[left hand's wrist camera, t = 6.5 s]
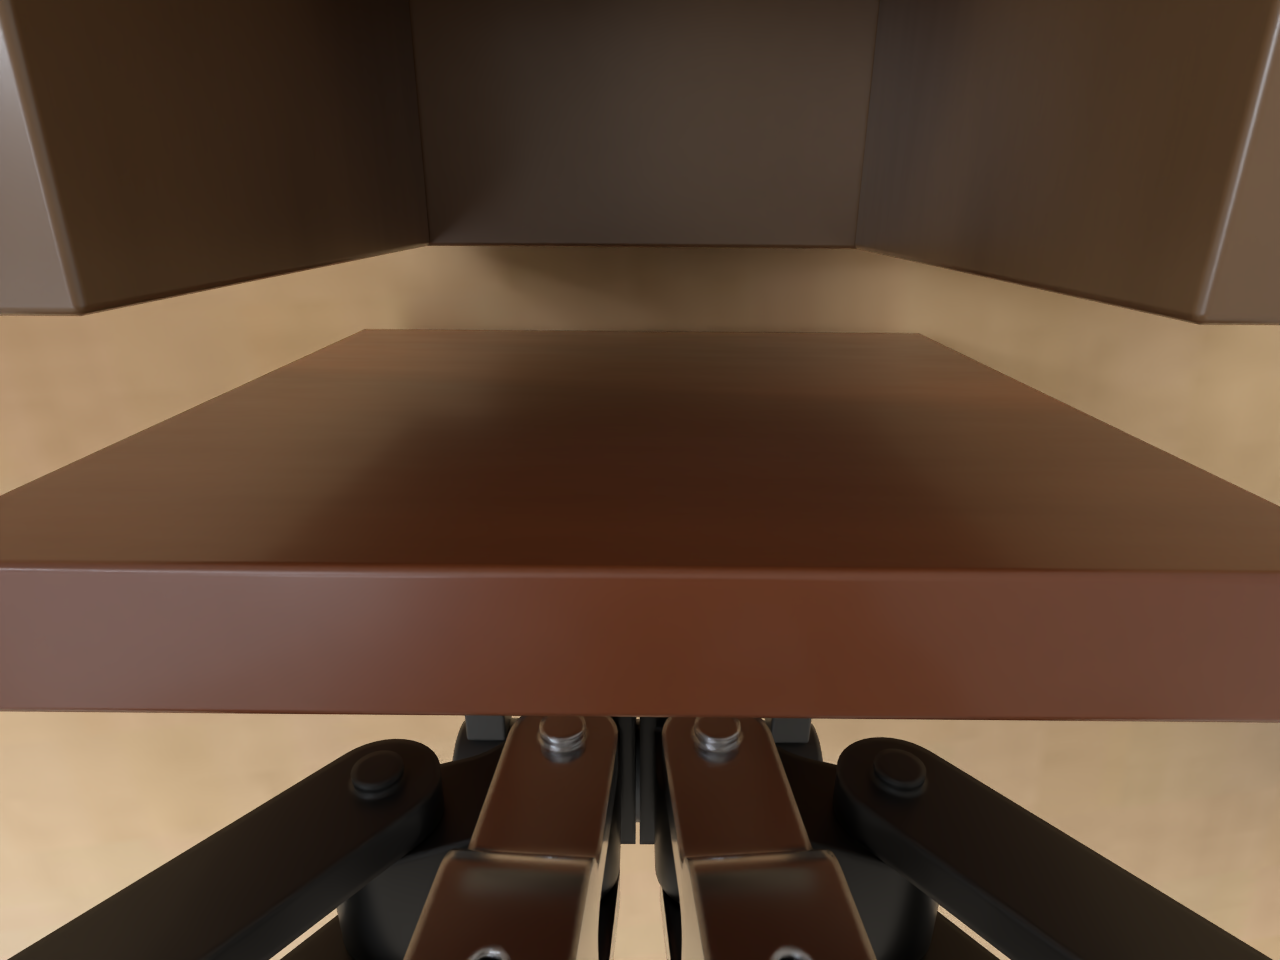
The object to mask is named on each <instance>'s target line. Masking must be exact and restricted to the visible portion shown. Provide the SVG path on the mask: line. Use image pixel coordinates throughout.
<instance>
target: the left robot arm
mask: <svg viewBox="0 0 1280 960" xmlns="http://www.w3.org/2000/svg"><path fill="white" fill-rule="evenodd" d="M635 839H636V717H600V716H521V717H520V718H519V719H518V720H517V721H516V722H515V723H514V724H513V726H512V727H511V729H510V731H509V733H508V736H507V739H506V740H505V741H504V742H502V743H501V744H499V745H498V746H496V747H494V748H492V749H490V750H488V751H486V752H484V753H481V754H479V755H475V756H472V757H468V758H464V759H460V760H456V761H452V762H447V763H443V764H440V763H439V760H438V757H437V756H436V754H435V753H434V752H433V751H432V750H431V749H430V748H429V747H427V746H425V745H423V744H422V743H419V742H416V741H412V740H406V739H388V740H381V741H376V742H372V743H369V744H366V745H363V746H361V747H358V748H356V749H354V750H352V751H350V752H348V753H346V754H344V755H343V756H341V757H340V758H338V759H336V760H335V761H333V762H331V763H330V764H328V765H326V766H325V767H323V768H321V769H320V770H318V771H317V772H315V773H313V774H312V775H310V776H308V777H307V778H305V779H303V780H302V781H300V782H299V783H297V784H295V785H294V786H292V787H290V788H289V789H287V790H285V791H284V792H282V793H280V794H279V795H277V796H276V797H274V798H272V799H271V800H269V801H267V802H266V803H264V804H262V805H261V806H259V807H257V808H256V809H254V810H253V811H251V812H249V813H248V814H246V815H244V816H243V817H241V818H239V819H238V820H236V821H234V822H233V823H231V824H230V825H228V826H226V827H225V828H223V829H221V830H220V831H218V832H216V833H215V834H213V835H211V836H210V837H208V838H207V839H205V840H203V841H202V842H200V843H198V844H197V845H195V846H193V847H192V848H190V849H188V850H187V851H185V852H184V853H182V854H180V855H179V856H177V857H175V858H174V859H172V860H170V861H169V862H167V863H165V864H164V865H162V866H161V867H159V868H157V869H156V870H154V871H152V872H151V873H149V874H147V875H146V876H144V877H142V878H141V879H139V880H138V881H136V882H134V883H133V884H131V885H129V886H128V887H126V888H124V889H123V890H121V891H119V892H118V893H116V894H115V895H113V896H111V897H110V898H108V899H106V900H105V901H103V902H101V903H100V904H98V905H96V906H95V907H93V908H92V909H90V910H88V911H87V912H85V913H83V914H82V915H80V916H78V917H77V918H75V919H73V920H72V921H70V922H69V923H67V924H65V925H64V926H62V927H60V928H59V929H57V930H55V931H54V932H52V933H50V934H49V935H47V936H46V937H44V938H42V939H41V940H39V941H37V942H36V943H34V944H32V945H31V946H29V947H27V948H26V949H24V950H23V951H21V952H19V953H18V954H16V955H14V956H13V957H11V958H9V959H8V960H269V959H270V958H272V957H273V956H274V955H276V954H277V953H278V952H280V951H281V950H282V949H283V948H285V947H286V946H287V945H289V944H290V943H291V942H293V941H294V940H295V939H296V938H298V937H299V936H300V935H302V934H303V933H304V932H306V931H307V930H308V929H310V928H311V927H312V926H313V925H315V924H316V923H317V922H319V921H320V920H321V919H323V918H324V917H325V916H326V915H328V914H329V913H330V912H332V911H333V910H334V909H336V908H337V912H338V915H337V916H336V917H334V918H333V919H332V920H331V921H329V922H328V923H327V924H325V925H324V926H323V927H322V928H320V929H319V930H318V931H316V932H315V933H314V934H313V935H311V936H310V937H309V938H307V939H306V940H305V941H304V942H302V943H301V944H300V945H298V946H297V947H296V948H294V949H293V950H292V951H291V952H289V953H288V954H287V955H285V956H284V957H283V958H282V959H280V960H613V957H614V948H615V940H616V931H617V922H618V913H619V905H620V844H635ZM640 844H655V870H656V875H657V878H658V881H659V883H660V905H661V914H662V922H663V931H664V940H665V949H666V958H667V960H1000V959H998V958H997V957H996V956H995V955H993V954H992V953H991V952H989V951H988V950H987V949H986V948H984V947H983V946H982V945H980V944H979V943H978V942H976V941H975V940H974V939H973V938H971V937H970V936H969V935H967V934H966V933H965V932H964V931H962V930H961V929H960V928H958V927H957V926H956V925H955V924H953V923H952V922H951V921H949V920H948V919H947V918H946V917H944V916H943V915H942V914H940V913H939V912H938V911H937V910H938V904H939V905H941V906H942V907H943V908H944V909H946V910H947V911H948V912H950V913H951V914H952V915H954V916H955V917H956V918H957V919H959V920H960V921H961V922H963V923H964V924H965V925H967V926H968V927H969V928H970V929H972V930H973V931H974V932H976V933H977V934H978V935H980V936H981V937H982V938H983V939H985V940H986V941H987V942H989V943H990V944H991V945H993V946H994V947H995V948H997V949H998V950H999V951H1000V952H1002V953H1003V954H1004V955H1006V956H1007V957H1008V958H1010V959H1011V960H1272V959H1271V958H1269V957H1267V956H1266V955H1264V954H1262V953H1261V952H1259V951H1257V950H1256V949H1254V948H1253V947H1251V946H1249V945H1248V944H1246V943H1244V942H1243V941H1241V940H1239V939H1238V938H1236V937H1234V936H1233V935H1231V934H1230V933H1228V932H1226V931H1225V930H1223V929H1221V928H1220V927H1218V926H1216V925H1215V924H1213V923H1211V922H1210V921H1208V920H1207V919H1205V918H1203V917H1202V916H1200V915H1198V914H1197V913H1195V912H1193V911H1192V910H1190V909H1188V908H1187V907H1185V906H1184V905H1182V904H1180V903H1179V902H1177V901H1175V900H1174V899H1172V898H1170V897H1169V896H1167V895H1165V894H1164V893H1162V892H1161V891H1159V890H1157V889H1156V888H1154V887H1152V886H1151V885H1149V884H1147V883H1146V882H1144V881H1142V880H1141V879H1139V878H1138V877H1136V876H1134V875H1133V874H1131V873H1129V872H1128V871H1126V870H1124V869H1123V868H1121V867H1119V866H1118V865H1116V864H1115V863H1113V862H1111V861H1110V860H1108V859H1106V858H1105V857H1103V856H1101V855H1100V854H1098V853H1096V852H1095V851H1093V850H1092V849H1090V848H1088V847H1087V846H1085V845H1083V844H1082V843H1080V842H1078V841H1077V840H1075V839H1073V838H1072V837H1070V836H1069V835H1067V834H1065V833H1064V832H1062V831H1060V830H1059V829H1057V828H1055V827H1054V826H1052V825H1050V824H1049V823H1047V822H1046V821H1044V820H1042V819H1041V818H1039V817H1037V816H1036V815H1034V814H1032V813H1031V812H1029V811H1027V810H1026V809H1024V808H1023V807H1021V806H1019V805H1018V804H1016V803H1014V802H1013V801H1011V800H1009V799H1008V798H1006V797H1004V796H1003V795H1001V794H1000V793H998V792H996V791H995V790H993V789H991V788H990V787H988V786H986V785H985V784H983V783H981V782H980V781H978V780H977V779H975V778H973V777H972V776H970V775H968V774H967V773H965V772H963V771H962V770H960V769H959V768H957V767H955V766H954V765H952V764H950V763H949V762H947V761H945V760H944V759H942V758H940V757H939V756H937V755H936V754H934V753H932V752H930V751H929V750H927V749H925V748H923V747H921V746H918V745H916V744H914V743H911V742H907V741H904V740H900V739H894V738H885V737H877V738H868V739H863V740H860V741H857V742H855V743H853V744H851V745H849V746H848V747H847V748H846V749H844V751H843V752H842V753H841V755H840V757H839V759H838V762H837V765H834V764H830V763H826V762H822V761H818V760H813V759H809V758H805V757H802V756H799V755H796V754H793V753H791V752H788V751H786V750H784V749H782V748H780V747H778V746H777V745H775V742H774V739H773V736H772V734H771V731H770V729H769V727H768V726H767V724H766V723H765V722H764V721H763V720H762V719H761V718H714V717H640Z"/></svg>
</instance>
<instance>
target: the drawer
mask: <svg viewBox="0 0 1280 960" xmlns="http://www.w3.org/2000/svg"><path fill="white" fill-rule="evenodd" d="M423 246H553V247H688V248H824V249H860V250H865V251H869V252H874V253H878V254H883V255H887V256H892V257H896V258H901V259H906V260H910V261H915V262H919V263H924V264H928V265H933V266H937V267H942V268H946V269H951V270H955V271H960V272H964V273H969V274H973V275H978V276H982V277H987V278H991V279H996V280H1001V281H1005V282H1010V283H1014V284H1019V285H1023V286H1028V287H1032V288H1037V289H1041V290H1046V291H1050V292H1055V293H1059V294H1064V295H1068V296H1073V297H1077V298H1082V299H1086V300H1091V301H1096V302H1100V303H1105V304H1109V305H1114V306H1118V307H1123V308H1127V309H1132V310H1136V311H1141V312H1145V313H1150V314H1154V315H1159V316H1163V317H1168V318H1172V319H1177V320H1181V321H1186V322H1190V323H1195V324H1212V325H1280V0H0V315H25V316H83V315H88V314H93V313H98V312H103V311H108V310H113V309H118V308H122V307H127V306H132V305H137V304H142V303H147V302H152V301H157V300H162V299H167V298H172V297H177V296H182V295H187V294H191V293H196V292H201V291H206V290H211V289H216V288H221V287H226V286H231V285H236V284H241V283H246V282H251V281H256V280H260V279H265V278H270V277H275V276H280V275H285V274H290V273H295V272H300V271H305V270H310V269H315V268H320V267H325V266H329V265H334V264H339V263H344V262H349V261H354V260H359V259H364V258H369V257H374V256H379V255H384V254H389V253H393V252H398V251H403V250H408V249H413V248H418V247H423ZM0 711H32V712H146V713H259V714H373V715H465V721H464V722H463V724H462V726H461V728H460V731H459V733H458V736H457V740H456V744H455V748H454V754H453V761H456V760H460V759H464V758H468V757H472V756H475V755H479V754H481V753H484V752H486V751H488V750H490V749H492V748H494V747H496V746H498V745H499V744H501V743H502V742H504V741H505V740H506V739H507V736H508V733H509V731H510V729H511V727H512V726H513V724H514V723H515V722H516V721H517V720H518V719H519V718H511V717H512V716H600V717H714V718H765V720H763V721H764V722H765V723H766V724H767V726H768V727H769V729H770V731H771V734H772V736H773V739H774V742H775V745H777V746H778V747H780V748H782V749H784V750H786V751H788V752H791V753H793V754H796V755H799V756H802V757H805V758H809V759H813V760H818V761H822V762H823V758H822V752H821V747H820V742H819V739H818V736H817V733H816V730H815V728H814V726H813V725H812V724H811V718H827V719H941V720H1054V721H1168V722H1280V506H1278V505H1276V504H1273V503H1271V502H1269V501H1267V500H1265V499H1263V498H1261V497H1259V496H1257V495H1255V494H1253V493H1251V492H1248V491H1246V490H1244V489H1242V488H1240V487H1238V486H1236V485H1234V484H1232V483H1230V482H1228V481H1225V480H1223V479H1221V478H1219V477H1217V476H1215V475H1213V474H1211V473H1209V472H1207V471H1205V470H1203V469H1200V468H1198V467H1196V466H1194V465H1192V464H1190V463H1188V462H1186V461H1184V460H1182V459H1180V458H1178V457H1175V456H1173V455H1171V454H1169V453H1167V452H1165V451H1163V450H1161V449H1159V448H1157V447H1155V446H1152V445H1150V444H1148V443H1146V442H1144V441H1142V440H1140V439H1138V438H1136V437H1134V436H1132V435H1130V434H1127V433H1125V432H1123V431H1121V430H1119V429H1117V428H1115V427H1113V426H1111V425H1109V424H1107V423H1105V422H1102V421H1100V420H1098V419H1096V418H1094V417H1092V416H1090V415H1088V414H1086V413H1084V412H1082V411H1079V410H1077V409H1075V408H1073V407H1071V406H1069V405H1067V404H1065V403H1063V402H1061V401H1059V400H1057V399H1054V398H1052V397H1050V396H1048V395H1046V394H1044V393H1042V392H1040V391H1038V390H1036V389H1034V388H1032V387H1029V386H1027V385H1025V384H1023V383H1021V382H1019V381H1017V380H1015V379H1013V378H1011V377H1009V376H1006V375H1004V374H1002V373H1000V372H998V371H996V370H994V369H992V368H990V367H988V366H986V365H984V364H981V363H979V362H977V361H975V360H973V359H971V358H969V357H967V356H965V355H963V354H961V353H959V352H956V351H954V350H952V349H950V348H948V347H946V346H944V345H942V344H940V343H938V342H936V341H933V340H931V339H929V338H927V337H925V336H923V335H921V334H909V333H778V332H647V331H516V330H386V329H364V330H362V331H360V332H358V333H355V334H353V335H351V336H349V337H347V338H345V339H342V340H340V341H338V342H336V343H334V344H331V345H329V346H327V347H325V348H323V349H320V350H318V351H316V352H314V353H312V354H309V355H307V356H305V357H303V358H301V359H299V360H296V361H294V362H292V363H290V364H288V365H285V366H283V367H281V368H279V369H277V370H274V371H272V372H270V373H268V374H266V375H264V376H261V377H259V378H257V379H255V380H253V381H250V382H248V383H246V384H244V385H242V386H239V387H237V388H235V389H233V390H231V391H229V392H226V393H224V394H222V395H220V396H218V397H215V398H213V399H211V400H209V401H207V402H204V403H202V404H200V405H198V406H196V407H194V408H191V409H189V410H187V411H185V412H183V413H180V414H178V415H176V416H174V417H172V418H169V419H167V420H165V421H163V422H161V423H158V424H156V425H154V426H152V427H150V428H148V429H145V430H143V431H141V432H139V433H137V434H134V435H132V436H130V437H128V438H126V439H123V440H121V441H119V442H117V443H115V444H113V445H110V446H108V447H106V448H104V449H102V450H99V451H97V452H95V453H93V454H91V455H88V456H86V457H84V458H82V459H80V460H78V461H75V462H73V463H71V464H69V465H67V466H64V467H62V468H60V469H58V470H56V471H53V472H51V473H49V474H47V475H45V476H43V477H40V478H38V479H36V480H34V481H32V482H29V483H27V484H25V485H23V486H21V487H18V488H16V489H14V490H12V491H10V492H7V493H5V494H3V495H1V496H0ZM636 822H640V719H636Z"/></svg>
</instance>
